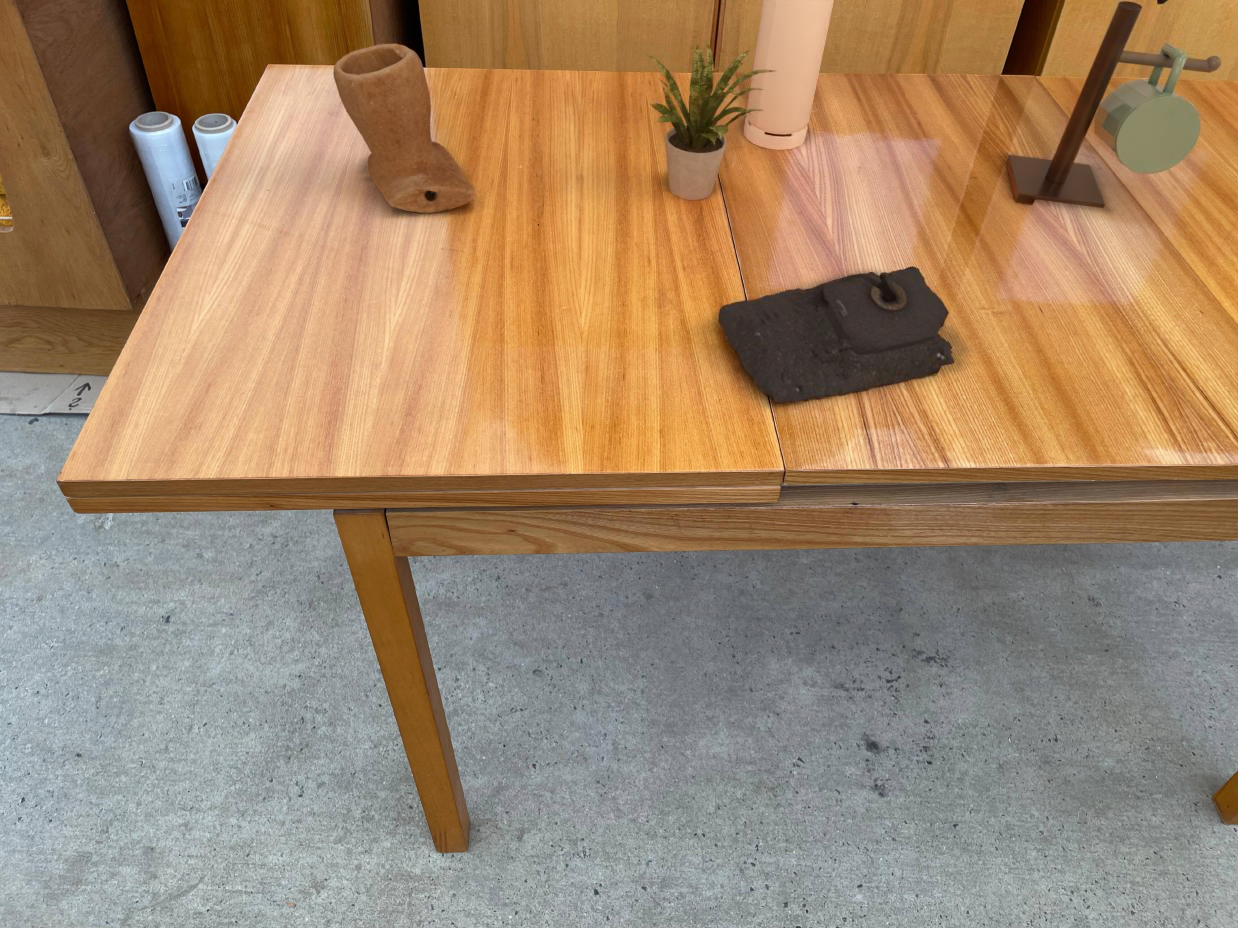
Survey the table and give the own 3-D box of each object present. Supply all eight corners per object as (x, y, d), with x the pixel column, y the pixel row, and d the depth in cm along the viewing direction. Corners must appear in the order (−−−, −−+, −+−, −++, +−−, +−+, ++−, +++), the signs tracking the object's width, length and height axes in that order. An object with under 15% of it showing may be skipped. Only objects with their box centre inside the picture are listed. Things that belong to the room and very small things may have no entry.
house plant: (782, 210, 103) (810, 68, 91) (679, 235, 98) (695, 89, 86) (718, 155, 111) (736, 19, 100) (620, 176, 107) (627, 35, 95)
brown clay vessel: (345, 166, 106) (320, 35, 95) (442, 151, 109) (429, 23, 98) (373, 231, 96) (349, 94, 85) (479, 212, 100) (468, 78, 89)
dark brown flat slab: (697, 314, 88) (702, 274, 85) (885, 278, 94) (897, 239, 91) (766, 414, 78) (776, 373, 75) (972, 366, 84) (989, 326, 81)
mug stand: (1139, 180, 112) (1230, 1, 97) (1158, 221, 105) (1259, 35, 90) (1005, 163, 113) (1073, -16, 98) (1015, 202, 107) (1090, 16, 91)
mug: (1104, 169, 99) (1083, 148, 106) (1180, 179, 98) (1154, 156, 106) (1150, 51, 92) (1124, 37, 99) (1233, 60, 91) (1200, 45, 99)
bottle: (730, 132, 116) (766, -117, 96) (772, 115, 120) (814, -127, 100) (776, 156, 112) (823, -98, 92) (818, 138, 116) (871, -109, 96)
